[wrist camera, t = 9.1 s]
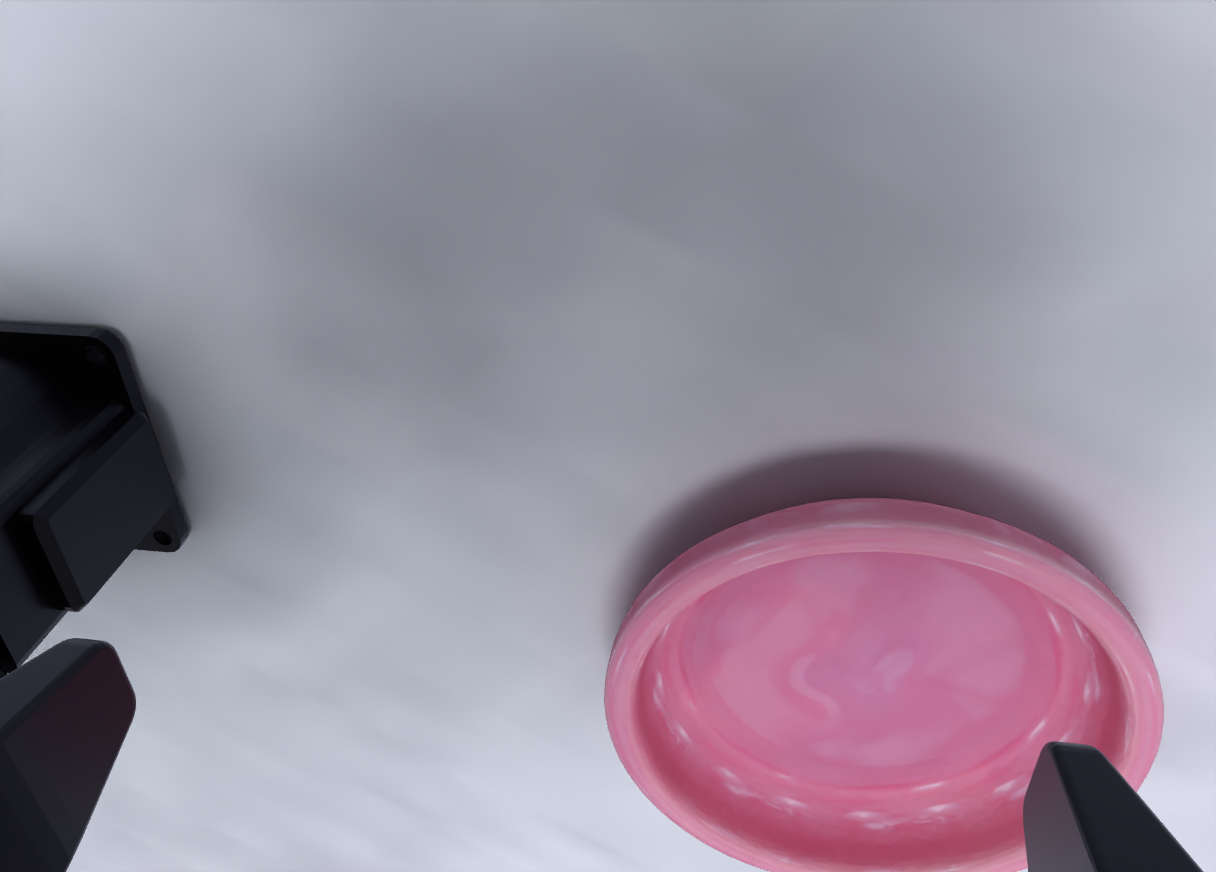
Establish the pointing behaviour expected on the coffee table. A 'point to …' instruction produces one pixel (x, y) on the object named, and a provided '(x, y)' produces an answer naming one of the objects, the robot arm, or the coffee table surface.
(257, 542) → the coffee table surface
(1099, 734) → the saucer
